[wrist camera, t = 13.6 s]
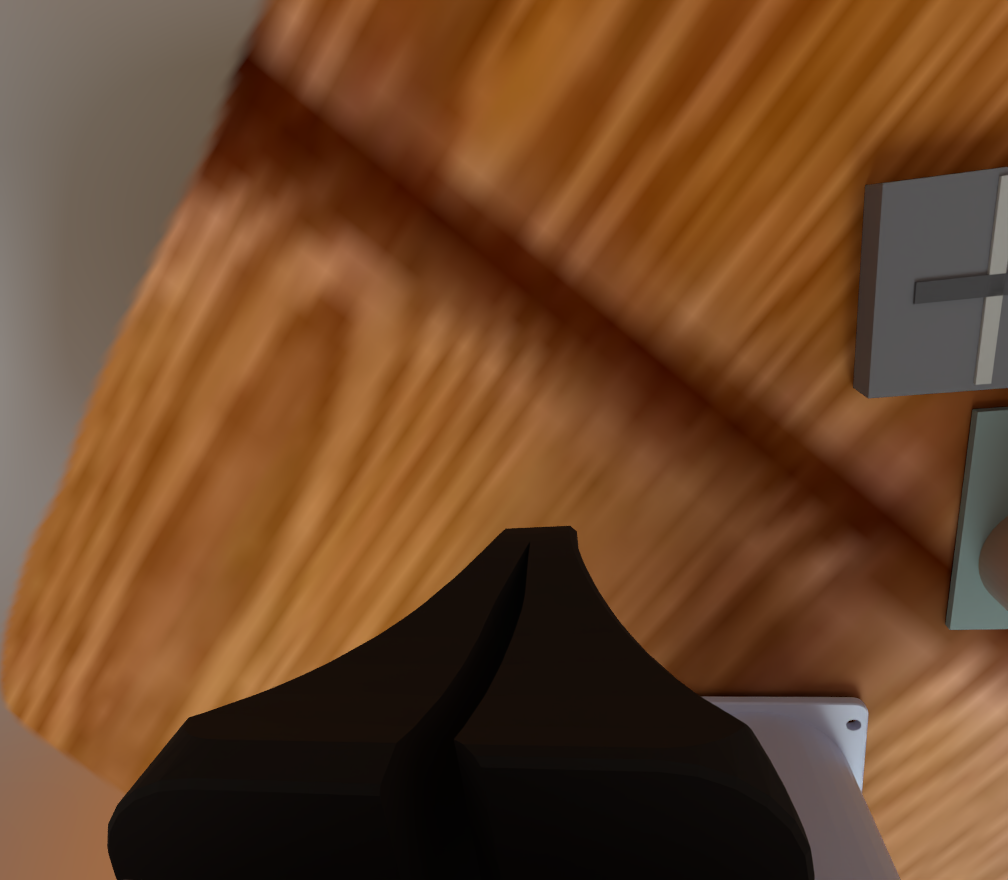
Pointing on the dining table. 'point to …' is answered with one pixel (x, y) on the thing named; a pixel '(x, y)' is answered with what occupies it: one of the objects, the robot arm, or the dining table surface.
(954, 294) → the board
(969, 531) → the slate mat
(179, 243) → the dining table surface
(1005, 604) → the peach domed cylinder
